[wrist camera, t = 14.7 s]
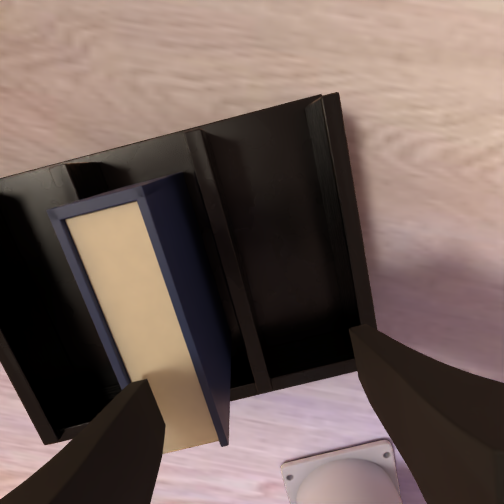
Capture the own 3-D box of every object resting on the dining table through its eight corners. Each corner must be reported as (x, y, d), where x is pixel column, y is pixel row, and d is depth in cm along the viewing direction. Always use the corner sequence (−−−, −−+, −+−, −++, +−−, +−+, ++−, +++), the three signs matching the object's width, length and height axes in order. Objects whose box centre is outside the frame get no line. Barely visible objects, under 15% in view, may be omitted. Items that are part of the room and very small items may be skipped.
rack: (358, 328, 22) (388, 370, 18) (80, 395, 23) (43, 452, 18) (317, 96, 18) (342, 79, 14) (-18, 184, 19) (-95, 194, 14)
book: (231, 337, 21) (228, 445, 13) (183, 348, 21) (152, 463, 13) (182, 171, 18) (141, 185, 10) (127, 185, 18) (45, 209, 10)
